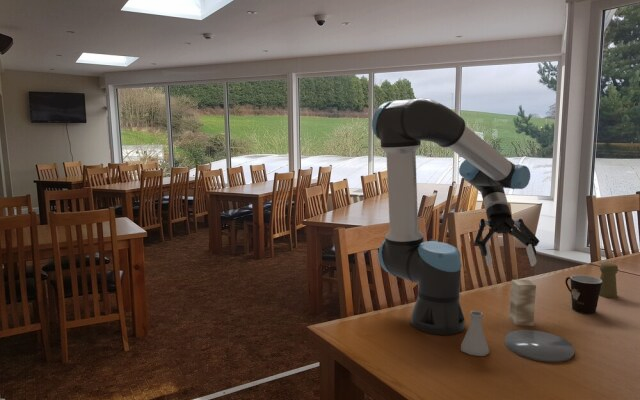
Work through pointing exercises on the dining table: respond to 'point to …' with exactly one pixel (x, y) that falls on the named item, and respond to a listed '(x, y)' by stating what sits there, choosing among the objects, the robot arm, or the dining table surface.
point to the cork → (608, 280)
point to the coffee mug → (584, 293)
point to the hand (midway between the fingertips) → (511, 264)
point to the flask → (475, 337)
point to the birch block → (522, 302)
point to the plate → (539, 346)
